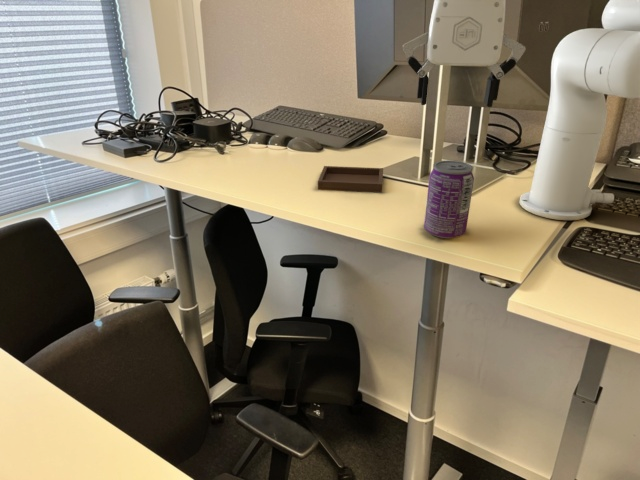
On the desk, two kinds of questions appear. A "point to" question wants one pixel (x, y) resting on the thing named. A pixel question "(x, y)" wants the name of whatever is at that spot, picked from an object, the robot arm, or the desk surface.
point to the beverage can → (448, 199)
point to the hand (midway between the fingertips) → (455, 104)
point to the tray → (351, 179)
